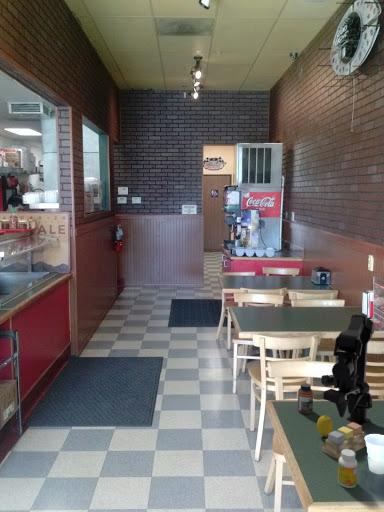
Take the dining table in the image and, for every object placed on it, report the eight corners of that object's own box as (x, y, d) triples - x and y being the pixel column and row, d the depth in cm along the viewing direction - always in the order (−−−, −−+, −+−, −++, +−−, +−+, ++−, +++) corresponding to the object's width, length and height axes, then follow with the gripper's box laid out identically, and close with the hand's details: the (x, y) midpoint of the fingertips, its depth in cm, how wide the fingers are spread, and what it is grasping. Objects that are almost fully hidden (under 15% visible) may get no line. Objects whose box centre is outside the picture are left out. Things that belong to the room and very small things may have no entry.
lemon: (329, 432, 172) (330, 412, 172) (334, 440, 167) (335, 418, 166) (314, 433, 172) (315, 412, 171) (319, 440, 167) (319, 419, 166)
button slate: (334, 441, 160) (334, 430, 160) (343, 445, 157) (344, 434, 157) (328, 444, 158) (328, 433, 158) (337, 449, 155) (337, 437, 155)
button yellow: (343, 437, 163) (343, 426, 163) (352, 441, 161) (353, 430, 160) (337, 440, 161) (337, 429, 161) (346, 444, 158) (346, 433, 158)
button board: (349, 437, 169) (349, 425, 168) (366, 445, 163) (367, 433, 163) (322, 451, 159) (322, 438, 159) (339, 460, 154) (340, 447, 153)
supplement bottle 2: (334, 483, 141) (335, 452, 140) (343, 475, 145) (344, 445, 144) (351, 490, 137) (352, 459, 136) (359, 483, 141) (361, 452, 140)
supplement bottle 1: (300, 407, 195) (300, 380, 194) (314, 410, 192) (315, 383, 191) (295, 412, 190) (296, 385, 189) (310, 415, 187) (310, 388, 186)
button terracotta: (352, 432, 167) (352, 422, 166) (361, 436, 164) (361, 425, 163) (346, 435, 164) (346, 424, 164) (355, 439, 162) (355, 428, 161)
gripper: (343, 359, 170) (341, 400, 172) (310, 370, 159) (309, 414, 161) (371, 367, 162) (369, 411, 163) (338, 379, 150) (336, 426, 152)
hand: (345, 415), depth 160 cm, fingers open, 5 cm apart
